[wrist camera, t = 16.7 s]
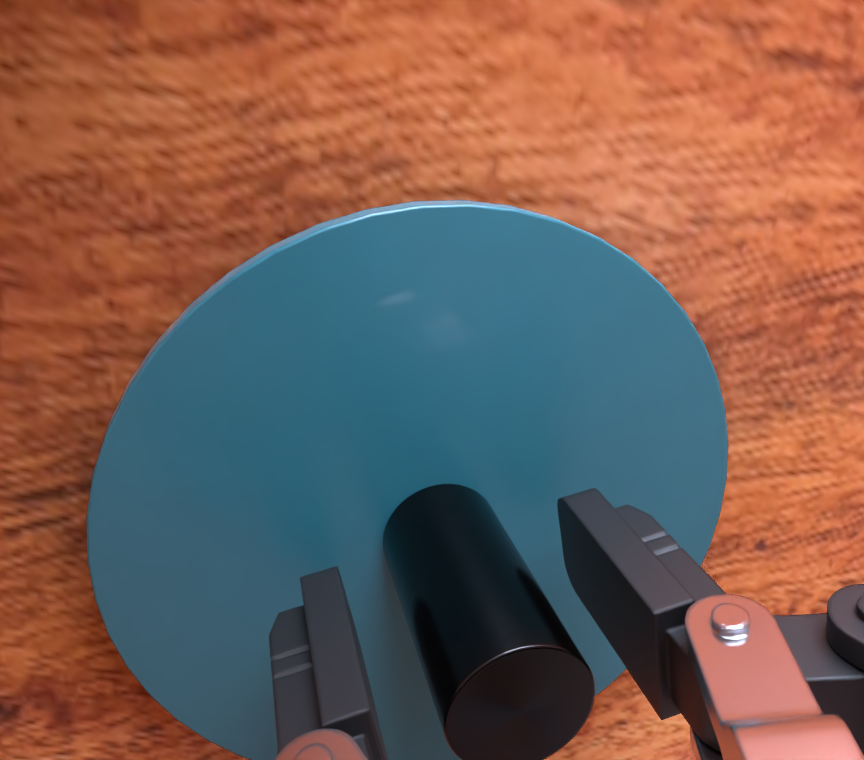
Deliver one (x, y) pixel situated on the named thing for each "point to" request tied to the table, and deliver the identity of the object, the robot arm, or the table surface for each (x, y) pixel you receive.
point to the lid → (400, 471)
